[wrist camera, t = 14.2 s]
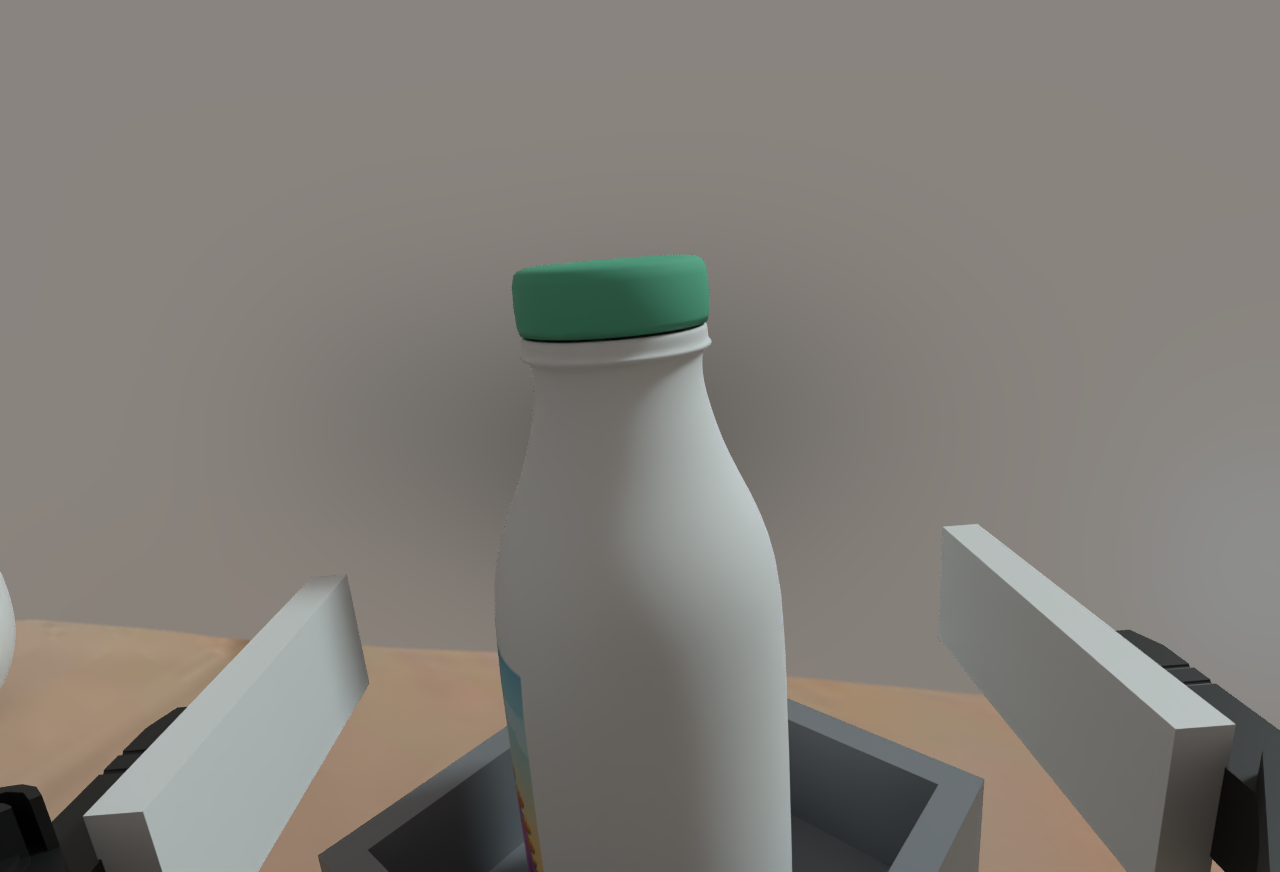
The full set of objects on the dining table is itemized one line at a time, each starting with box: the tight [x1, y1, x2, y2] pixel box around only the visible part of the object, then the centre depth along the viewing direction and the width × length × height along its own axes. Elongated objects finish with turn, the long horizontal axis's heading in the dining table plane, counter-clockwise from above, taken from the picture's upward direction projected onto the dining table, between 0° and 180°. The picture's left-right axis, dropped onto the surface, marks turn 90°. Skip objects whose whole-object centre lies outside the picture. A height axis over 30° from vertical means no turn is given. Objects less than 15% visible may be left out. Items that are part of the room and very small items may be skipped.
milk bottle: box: [495, 255, 792, 872], centre depth 19 cm, size 8×8×20 cm
